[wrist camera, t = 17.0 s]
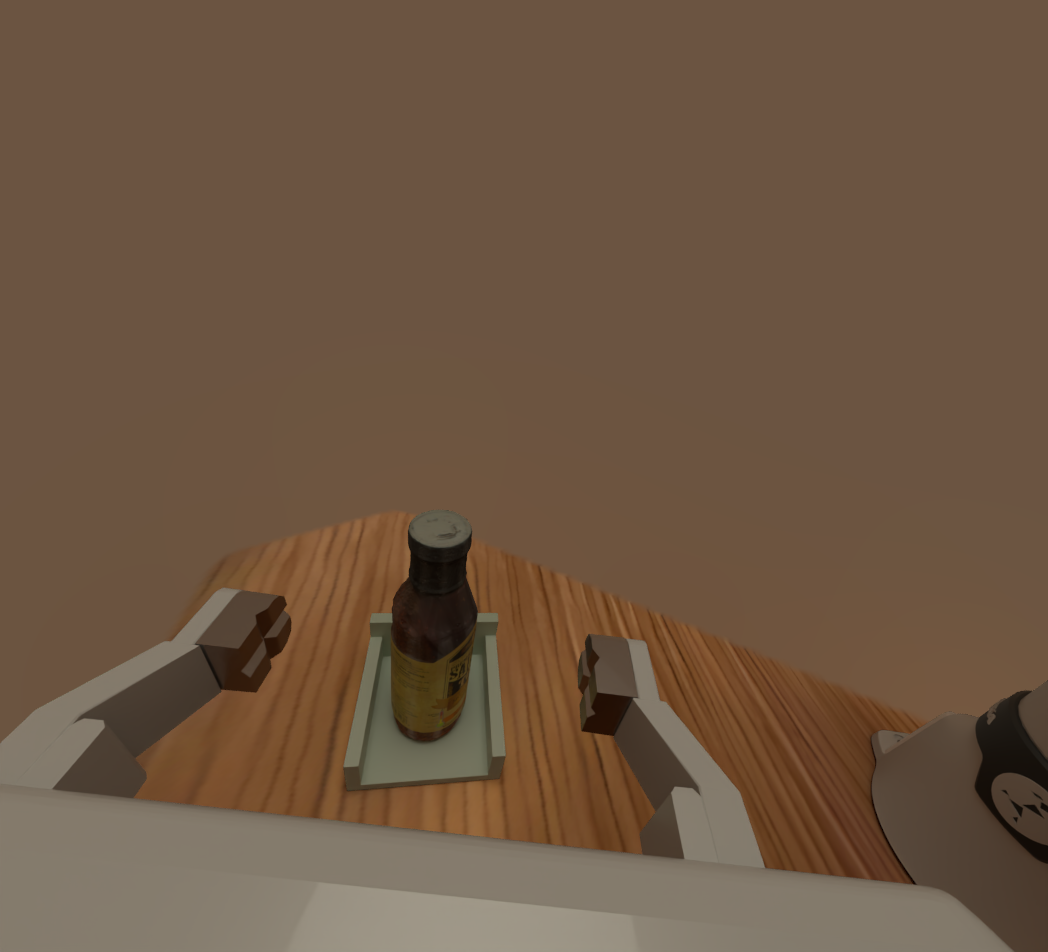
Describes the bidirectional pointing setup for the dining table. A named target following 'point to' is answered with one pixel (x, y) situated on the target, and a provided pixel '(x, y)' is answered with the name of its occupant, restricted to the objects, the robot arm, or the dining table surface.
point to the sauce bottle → (433, 628)
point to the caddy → (454, 757)
